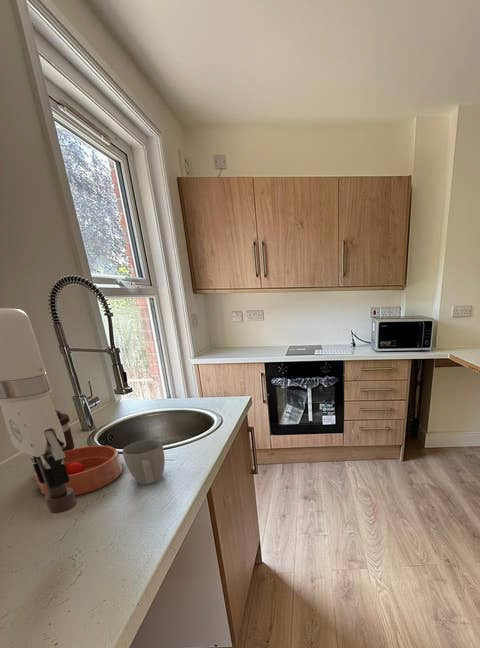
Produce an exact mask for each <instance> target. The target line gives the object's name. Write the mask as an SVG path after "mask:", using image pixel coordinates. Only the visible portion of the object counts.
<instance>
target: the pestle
mask: <svg viewBox="0 0 480 648" xmlns="http://www.w3.org/2000/svg"><path fill="white" fill-rule="evenodd" d="M50 456H52V454H50V455H47V459H48V457H50ZM36 459H37V462H38V465H39V468H40V470H41V473H42V476H43V479H44V482H45V484H46V487H47V490H48V494H46V495H45V494H44V500H45V503H46V505H47V509H48V511H49V513H51V514H62V513H66V512H68V511H70V510H72V509H74V508H75V507H76V506H77V504H78V502H77V499H76V495H74V492H73V489H72V488H67V487H66V484H62V485H60V486H58V487H55V488H49V486H48V483H47V481H46V478H45V475H44V472H43V469H44V465H43V463H42V460H41V458H40V457H36Z"/></svg>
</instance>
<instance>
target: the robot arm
mask: <svg viewBox="0 0 480 648" xmlns="http://www.w3.org/2000/svg"><path fill="white" fill-rule="evenodd" d="M49 380H50V379H49V377H48V373H47V371H46V368H45V365H44V361H43V358H42V355H41V352H40V347H39V345H38V342H37V339H36V335H35V331H34V329H33V327H32V322H31V320H30V317H29V315H28V314H27V313H26V312H25V311H23V310H22V309H19V308H13V307H0V410H1V413H2V417H3V420H4V423H5V426H6V430H7V433H8V436H9V440H10V442H11V445H12V446H13V447H14V448H15V449H17V450H19V451H20V452H23V453H25V454H27V455H29V458H30V461H31V462H32V466H33V470H34V469H35V471H36V474H37V477H38V480H39V482H40V483H45V482H44V479H43V476H42V473H41V470H40V468H39V465H38V462H37V459H36V457H40V458H41V460H42V463H43V465H44V469H43V472H44V475H45V478H46V481H47V483H48V486H49V488H55V487H58V486H60V485H62V484H65V483H67V482H69V477H68V474H67V471H66V468H65V465H64V460H63V458H65V454H64V452H63V450H62V449H63V448H65V446H66V440H65V436H64V433H63V430H62V427H61V424H60V421H59V419H58V416H57V414H56V411H55V410H56V409H55V405H54V404H53V402H52V400H51V397H50V394H52V392H53V390H52V387H51V383H50V381H49ZM49 448H50V449H49ZM50 454H52V456H50V457H48V459H47V455H50Z"/></svg>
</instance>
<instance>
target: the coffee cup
mask: <svg viewBox="0 0 480 648" xmlns="http://www.w3.org/2000/svg"><path fill="white" fill-rule="evenodd" d="M55 411H56V414H57V416H58V419H59V421H60V424H61V427H62V430H63V433H64V436H65V440H66V446H65V448H63V449H62V450H63V452H64V451H68V450H72V449H75V443H74V438H73V434H72V431H71V427H70V425H69V423H70V421H71V419H70V417H69V414H66V413H62V412H61V411H60V410H57V409H55ZM49 449H50V448H49Z"/></svg>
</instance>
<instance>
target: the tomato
mask: <svg viewBox="0 0 480 648" xmlns="http://www.w3.org/2000/svg"><path fill="white" fill-rule="evenodd" d="M83 471H84V467H83V465H82V464H80V463H78V462H74V463H71V464H69V465H68V467H67V473H68V474H69V475H71V474H77V473H80V472H83Z"/></svg>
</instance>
